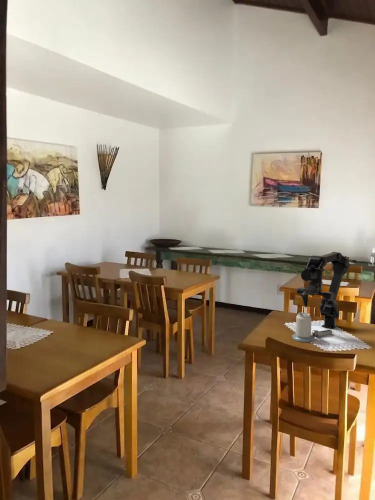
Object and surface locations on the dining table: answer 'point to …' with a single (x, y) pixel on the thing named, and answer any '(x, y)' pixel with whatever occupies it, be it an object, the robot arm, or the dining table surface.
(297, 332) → the can
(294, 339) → the pad
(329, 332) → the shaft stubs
